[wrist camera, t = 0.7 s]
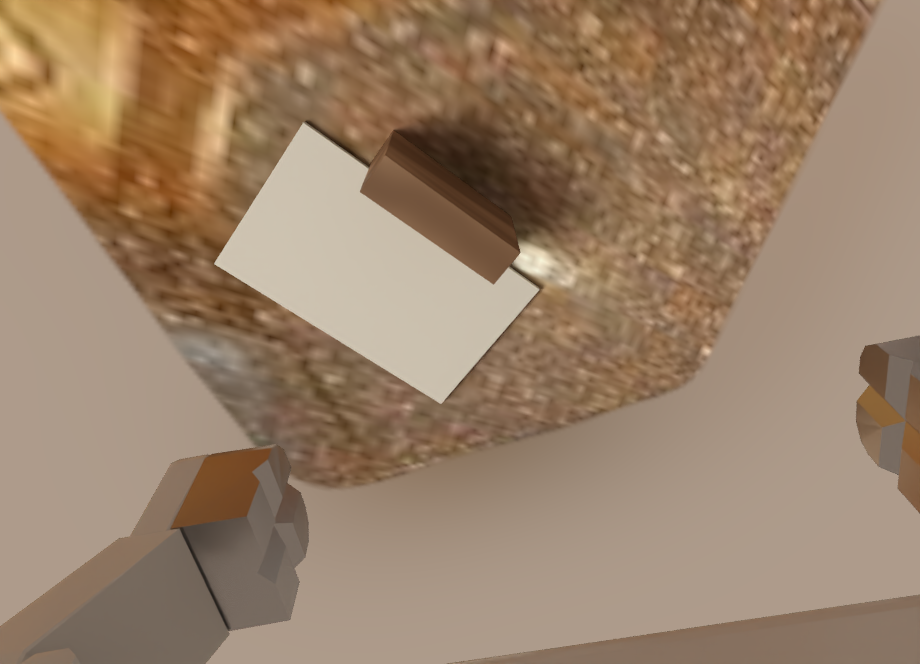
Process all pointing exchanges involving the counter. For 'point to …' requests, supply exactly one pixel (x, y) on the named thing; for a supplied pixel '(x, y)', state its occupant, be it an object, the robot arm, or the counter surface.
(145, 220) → the counter surface
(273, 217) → the mat
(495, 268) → the block
